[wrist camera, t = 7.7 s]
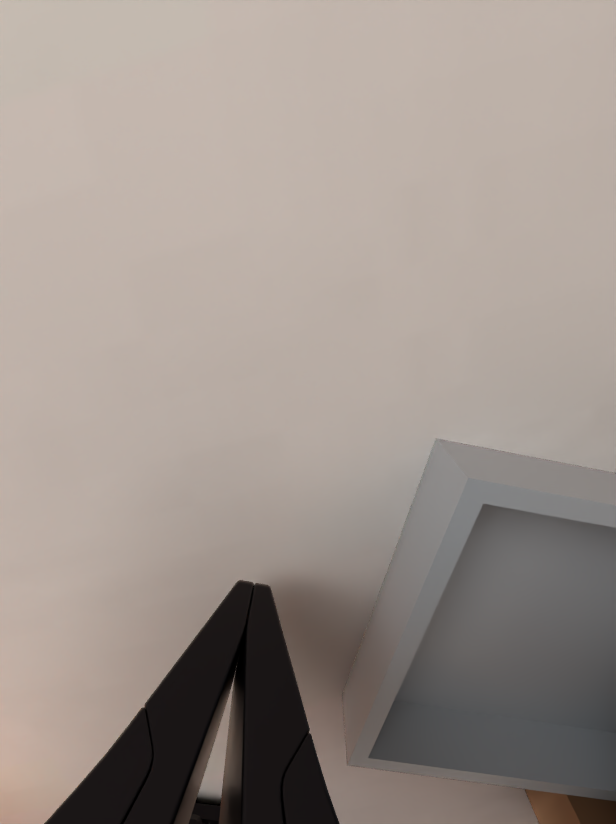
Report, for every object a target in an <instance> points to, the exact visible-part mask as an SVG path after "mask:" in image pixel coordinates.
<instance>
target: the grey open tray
mask: <svg viewBox="0 0 616 824" xmlns="http://www.w3.org/2000/svg"><path fill="white" fill-rule="evenodd" d="M342 701H343V715H344V728H345V742H346V755H347V765H348V766H356V767H363V768H371V769H378V770H386V771H393V772H401V773H408V774H416V775H423V776H431V777H438V778H446V779H453V780H461V781H468V782H476V783H483V784H491V785H498V786H506V787H513V788H521V789H528V790H536V791H543V792H551V793H558V794H566V795H573V796H581V797H588V798H596V799H603V800H611V801H616V473H613V472H607V471H602V470H597V469H592V468H587V467H581V466H576V465H571V464H566V463H561V462H555V461H550V460H545V459H540V458H535V457H529V456H524V455H519V454H514V453H509V452H504V451H498V450H493V449H488V448H483V447H478V446H472V445H467V444H462V443H457V442H452V441H446V440H441V439H435V442H434V445H433V447H432V450H431V453H430V456H429V458H428V461H427V464H426V467H425V469H424V472H423V475H422V478H421V480H420V483H419V486H418V488H417V491H416V494H415V497H414V499H413V502H412V505H411V508H410V510H409V513H408V516H407V518H406V521H405V524H404V527H403V529H402V532H401V535H400V538H399V540H398V543H397V546H396V549H395V551H394V554H393V557H392V559H391V562H390V565H389V568H388V570H387V573H386V576H385V579H384V581H383V584H382V587H381V590H380V592H379V595H378V598H377V600H376V603H375V606H374V609H373V611H372V614H371V617H370V620H369V622H368V625H367V628H366V630H365V633H364V636H363V639H362V641H361V644H360V647H359V650H358V652H357V655H356V658H355V661H354V663H353V666H352V669H351V671H350V674H349V677H348V680H347V682H346V685H345V688H344V691H343V693H342Z"/></svg>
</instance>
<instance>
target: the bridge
mask: <svg viewBox="0 0 616 824" xmlns="http://www.w3.org/2000/svg"><path fill="white" fill-rule="evenodd" d="M525 791H526V794H527V796H528V798H529V801H530V803H531V805H532V808H533V810H534V812H535V815H536V817H537V819H538V822H539V824H616V801H611V800H603V799H596V798H588V797H581V796H573V795H566V794H558V793H551V792H543V791H536V790H528V789H525Z"/></svg>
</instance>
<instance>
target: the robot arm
mask: <svg viewBox="0 0 616 824" xmlns="http://www.w3.org/2000/svg"><path fill="white" fill-rule="evenodd" d="M236 666H237V667H236ZM235 671H236V672H235ZM234 675H235V678H234ZM233 679H234V684H233V692H232V701H231V711H230V721H229V730H228V740H227V749H226V759H225V769H224V778H223V788H222V798H221V806H215V805H207V804H199V803H195V802H196V798H197V795H198V792H199V789H200V786H201V782H202V779H203V776H204V773H205V770H206V767H207V763H208V760H209V757H210V754H211V751H212V747H213V744H214V741H215V738H216V735H217V732H218V728H219V725H220V722H221V719H222V716H223V712H224V709H225V706H226V703H227V700H228V697H229V693H230V690H231V686H232V683H233ZM309 730H310V729H309V725H308V722H307V718H306V714H305V711H304V707H303V704H302V700H301V696H300V693H299V689H298V685H297V682H296V678H295V674H294V671H293V667H292V664H291V660H290V656H289V653H288V649H287V645H286V642H285V638H284V635H283V631H282V627H281V624H280V620H279V616H278V613H277V609H276V605H275V602H274V598H273V595H272V591H271V588H270V586H269V585H265V584H259V583H256V584H255V585H254V584H253V583H252V582H248V581H243V580H239V581H238V582H237V583H236V584H235V586H234V587H233V588H232V590H231V591H230V592H229V593H228V595H227V596H226V597H225V599H224V600H223V601H222V603H221V604H220V605H219V607H218V608H217V609H216V611H215V612H214V613H213V615H212V616H211V617H210V619H209V620H208V621H207V623H206V624H205V625H204V627H203V628H202V629H201V630H200V632H199V633H198V634H197V636H196V637H195V638H194V640H193V641H192V642H191V644H190V645H189V646H188V648H187V649H186V650H185V652H184V653H183V654H182V656H181V657H180V658H179V660H178V661H177V662H176V664H175V665H174V666H173V668H172V669H171V670H170V671H169V673H168V674H167V675H166V677H165V678H164V679H163V681H162V682H161V683H160V685H159V686H158V687H157V689H156V690H155V691H154V693H153V694H152V695H151V697H150V698H149V699H148V701H147V702H146V703H145V707H143V708H141V710H140V711H139V712H138V713H137V715H136V716H135V717H134V719H133V720H132V721H131V723H130V724H129V725H128V727H127V728H126V729H125V730H124V732H123V733H122V734H121V735H120V737H119V738H118V739H117V741H116V742H115V743H114V744H113V746H112V747H111V748H110V749H109V751H108V752H107V753H106V754H105V756H104V757H103V758H102V759H101V760H100V761H99V763H98V764H97V765H96V766H95V767H94V768H93V770H92V771H91V772H90V773H89V774H88V775H87V776H86V778H85V779H84V780H83V781H82V782H81V783H80V785H79V786H78V787H77V788H76V789H75V790H74V791H73V793H72V794H71V795H70V796H69V797H68V798H67V799H66V800H65V801H64V802H63V804H62V805H61V806H60V807H59V808H58V809H57V810H56V811H55V812H54V814H53V815H52V816H51V817H50V818H49V819H48V820H47V821H46V822H45V823H44V824H339V821H338V818H337V816H336V813H335V810H334V807H333V804H332V801H331V799H330V796H329V793H328V790H327V787H326V784H325V780H324V777H323V774H322V770H321V767H320V764H319V760H318V757H317V754H316V750H315V746H314V743H313V739H312V736H311V734H310V733H309Z"/></svg>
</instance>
